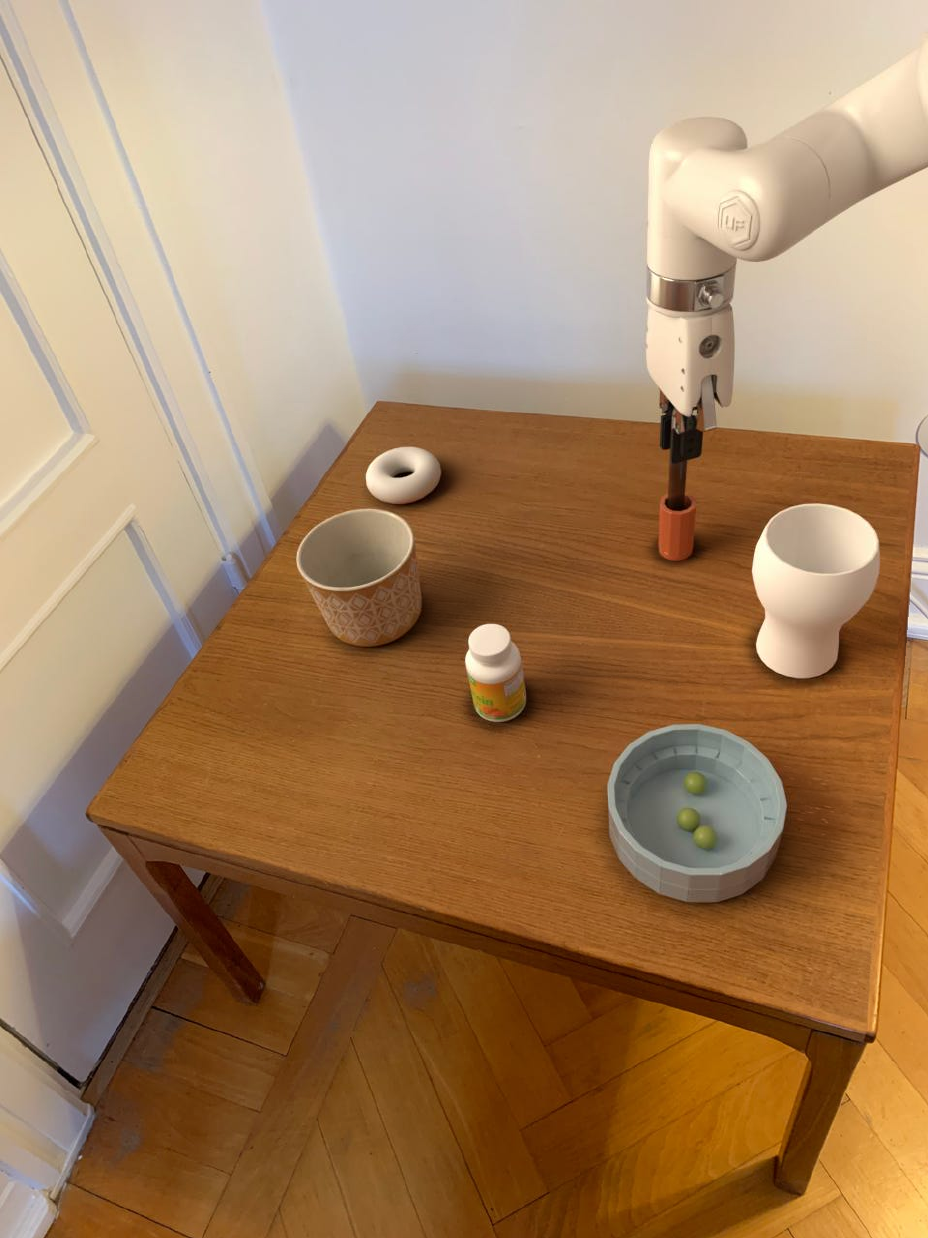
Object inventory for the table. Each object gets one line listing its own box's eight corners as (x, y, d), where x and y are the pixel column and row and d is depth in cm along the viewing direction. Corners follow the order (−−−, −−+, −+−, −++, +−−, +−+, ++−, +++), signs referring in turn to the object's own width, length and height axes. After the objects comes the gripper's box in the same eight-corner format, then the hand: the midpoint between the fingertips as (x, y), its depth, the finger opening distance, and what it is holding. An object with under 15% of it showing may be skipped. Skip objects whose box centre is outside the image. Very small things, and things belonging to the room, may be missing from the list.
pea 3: (721, 833, 73) (710, 854, 73) (699, 821, 74) (688, 842, 73) (722, 833, 71) (711, 855, 71) (700, 821, 72) (689, 842, 71)
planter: (446, 584, 100) (431, 515, 92) (405, 665, 92) (385, 598, 84) (349, 568, 104) (328, 501, 96) (302, 645, 96) (275, 579, 89)
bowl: (730, 741, 80) (736, 705, 76) (809, 876, 70) (820, 844, 66) (586, 784, 79) (584, 750, 75) (646, 927, 69) (647, 897, 65)
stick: (678, 526, 97) (686, 398, 85) (685, 536, 96) (694, 408, 84) (663, 530, 97) (669, 403, 85) (669, 540, 96) (676, 412, 84)
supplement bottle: (463, 705, 87) (448, 642, 80) (499, 672, 90) (488, 609, 82) (501, 733, 84) (489, 670, 77) (537, 699, 87) (529, 635, 79)
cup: (739, 684, 84) (755, 576, 73) (742, 606, 91) (757, 496, 80) (856, 696, 81) (891, 584, 71) (850, 614, 88) (881, 501, 77)
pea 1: (713, 781, 76) (699, 764, 76) (709, 794, 75) (695, 777, 74) (695, 789, 77) (681, 772, 77) (691, 802, 76) (677, 785, 75)
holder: (684, 534, 100) (687, 487, 95) (698, 555, 97) (702, 508, 92) (653, 543, 99) (654, 496, 94) (666, 564, 97) (668, 517, 92)
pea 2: (697, 809, 75) (690, 799, 73) (707, 828, 73) (700, 819, 72) (676, 819, 75) (669, 810, 74) (686, 839, 74) (679, 830, 72)
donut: (457, 475, 114) (400, 453, 118) (454, 454, 111) (396, 432, 116) (410, 519, 109) (353, 494, 114) (405, 498, 106) (347, 474, 111)
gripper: (774, 310, 70) (750, 487, 83) (692, 236, 81) (682, 403, 94) (687, 332, 69) (677, 507, 83) (616, 255, 80) (617, 420, 94)
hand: (680, 451), depth 88 cm, fingers closed on stick, 1 cm apart
